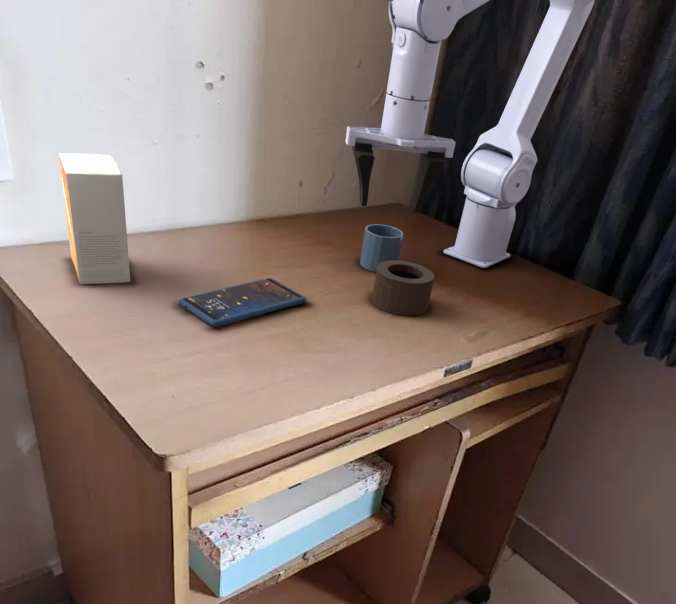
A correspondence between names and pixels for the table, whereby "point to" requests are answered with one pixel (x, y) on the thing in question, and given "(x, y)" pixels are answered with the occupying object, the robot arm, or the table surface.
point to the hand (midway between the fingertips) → (389, 206)
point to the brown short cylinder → (402, 287)
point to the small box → (95, 217)
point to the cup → (380, 245)
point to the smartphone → (241, 301)
